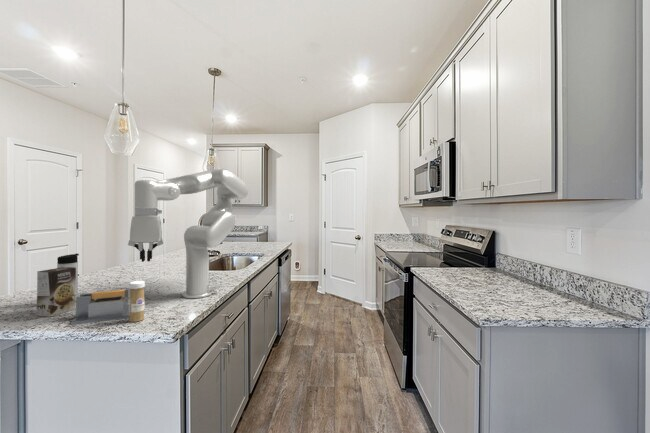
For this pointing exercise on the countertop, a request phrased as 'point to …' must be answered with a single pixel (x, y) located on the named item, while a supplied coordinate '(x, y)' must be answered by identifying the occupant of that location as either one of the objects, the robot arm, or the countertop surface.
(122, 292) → the lock bar
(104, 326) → the countertop surface
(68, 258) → the travel mug
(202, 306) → the countertop surface
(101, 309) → the dock
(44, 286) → the coffee box
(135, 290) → the sprinkles bottle
